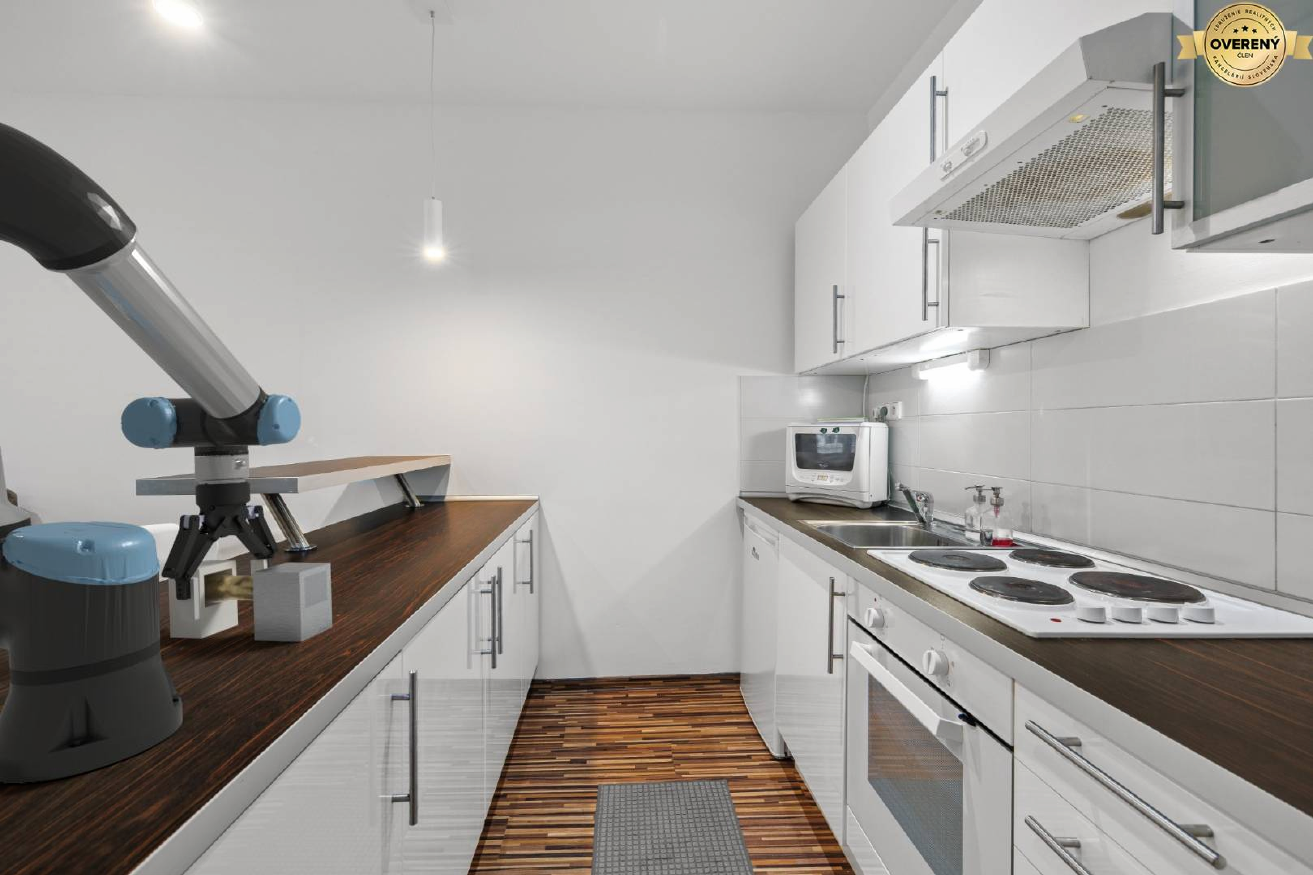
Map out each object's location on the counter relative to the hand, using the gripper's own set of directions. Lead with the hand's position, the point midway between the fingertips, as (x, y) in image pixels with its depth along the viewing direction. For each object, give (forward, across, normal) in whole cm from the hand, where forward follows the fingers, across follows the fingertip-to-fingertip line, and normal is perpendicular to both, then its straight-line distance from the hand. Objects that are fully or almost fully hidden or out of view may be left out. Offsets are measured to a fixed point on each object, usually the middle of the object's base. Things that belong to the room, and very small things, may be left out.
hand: (227, 606), depth 101 cm
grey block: (+4, 0, -13) cm, 13 cm away
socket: (+4, 0, +4) cm, 6 cm away
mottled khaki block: (-1, 0, -3) cm, 3 cm away
